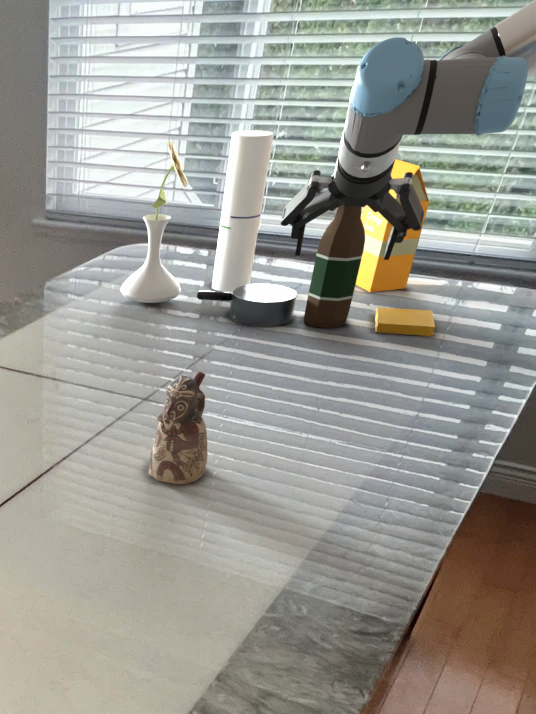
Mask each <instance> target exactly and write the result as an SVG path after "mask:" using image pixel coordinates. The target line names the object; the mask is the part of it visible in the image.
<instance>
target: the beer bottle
mask: <svg viewBox="0 0 536 714" xmlns="http://www.w3.org/2000/svg"><path fill="white" fill-rule="evenodd" d="M361 214H362V207H358V206H349V207H347V206H343V205H341V206H340V207H338V208H337V209H336V212H335V215H334V217H333V219H332V220H331V221H330V222H329V224H328V225H327V226H326V228H325V230H324V232H323V233H322V236H321V238H320V240H319V243H318V247H317V251H316V255H315V259H314V265H313V269H312V276H311V279H310V284H309V289H308V294H307V300H306V304H305V305H306V306H305V309H304V317H303V323H305V324H307V325H310V326H311V327H313V328H321V329H322V328H323V329H335V328H340V327H344V326H345V325H346V323H347V320H348V316H349V313H350V309H351V307H352V306H351V305H352V302H353V298H354V297H353V296H354V293H355V288H356V286H357V285H356V280H357V276H358V272H359V268H360V263H361V259H362V255H363V250H364V244H365V229H364V226H363V223H362V220H361Z"/></svg>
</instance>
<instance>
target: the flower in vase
mask: <svg viewBox="0 0 536 714" xmlns="http://www.w3.org/2000/svg"><path fill="white" fill-rule="evenodd" d="M167 148H168V152H169V155H170V159H171V164H170V167H169V168H168V171H167V172H166V174H165V177H164V178H163V181H162V183H161V185H160V188H159V192H158V198H157V199H156V200H155V201H154V202H153V203H152V204H151V205H150V207H152V208H154V209H156V212H155V213H150V214H146V215H144V216H142V220H143V221H144V223H145V226H146V229H147V240H148V243H147V255H146V259H145V261H144V263H143V265H142V266H140V267H139V269H137V270H136V271H135V272H133V273H132V274H131V275H130V276H129V277H128V278H126V280H125V281H124V282H123V283H122V285H121V287H120V289H119V291H120V293H121V295H122V296H123V297H124V298H126V299H128V300H130V301H133V302H137V303H144V304H158V303H164V302H168V301H171V300H173V299H175V298H177V297H178V296H179V295H180V294H181V292H182V288H181V284H180V283H179V281H178V280H177V279H176V278H175V277H174V276H173V275H172V274H171V273H170V272H169V271H168V270H167V269H166V267H164V265H163V264H162V260H161V246H162V240H163V235H164V232H165V229H166V226H168V225H167V224H168V223H169V222H170V220H171V219H172V216H170V215H168V214H163V213H159V209H160V207H162V206H166V205H167V204H168V199H167V195H166V192H165V190H164V189H163V188H164V185H165V183H166V181H167V179H168V177H169V175H170V174H171V171H174V172H175V173H176V175H177V179H178V180H179V183H181V185H182V187H183V188H188V186H189V184H188V178H187V176H186V174H185V173H184V170H185V169H184V166H183V164H182V163H181V162H180V160H179V159H180V158H179V157H180V156H179V152H178V150H177V149H175V148H176V147H175V144H174V141H173V140H170V139H169V140H168V141H167Z"/></svg>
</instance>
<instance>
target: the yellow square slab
mask: <svg viewBox="0 0 536 714" xmlns="http://www.w3.org/2000/svg"><path fill="white" fill-rule="evenodd" d="M374 315H375V316H374V321H375V333H381V334H394V335H408V336H409V335H410V336H422V337H423V336H425V337H433V336H434V333H435V329H436V324H435V319H434V313H433V310H431V309H416V308H415V309H414V308H398V307H384V306H383V307H382V306H381V307H380V306H377V308H376V311H375V314H374Z"/></svg>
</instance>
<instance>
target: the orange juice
mask: <svg viewBox="0 0 536 714" xmlns="http://www.w3.org/2000/svg"><path fill="white" fill-rule="evenodd" d="M407 172H412V173H413V178H412V185H413V187H414V189H415V192H416V194H417V196H418V199H419V201H420V203H421V206H422V208H423V210H424V216H423V221H422V226H421V229H420V230H418V231H414V230H413V229H408V230H407V234H406V237H404V239H403V241H402V242H401V243H395V244H394V246H393V249H392V252H391V255H390V258H389V260H384V256H385V251H386V246H387V242H388V239H389V236H390V233H391V230H392V227H393V226H392V225H391V224H390V223H389V222H388V221H387V220H386V219H385V218H384V217H383V216H382V215H381V214H380V213H379V212H374V211H373V210H372V209H371V208H370V207H369V206H368V205H366V207H362V209H361V220H362V223H363V226H364V229H365V244H364V250H363V255H362V259H361V263H360V268H359V272H358V276H357V280H356V285H355V286H358V287H359V288H361V289H363V290H365V291H367V292H369V293H373V292H384V291H395V290H404V289H407V284H408V281H409V278H410V274H411V271H412V270H411V269H412V266H413V263H414V260H415V256H416V253H417V250H418V245H419V242H420V237H421V233H422V230H423V227H424V223H425V220H426V216H427V212H428V208H429V204H430V200H429V196H428V193H427V190H426V186H425V182H424V179H423V175H422V171H421V166H420V165H417V164H413V163H411V162H407V161H404V160H400V159H395V163H394V166H393V169H392V172H391V177H392V179H395V178H403V177H404V174H405V173H407ZM389 193H390V194H391V195H392V196H393V197H394V198H395V199H396V200H397V201H398V202H399V203H400V197H399V198H397V197H396V195H397V194H396V193H395V191H394V190H391V189H390V191H389ZM400 204H401V203H400Z"/></svg>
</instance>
